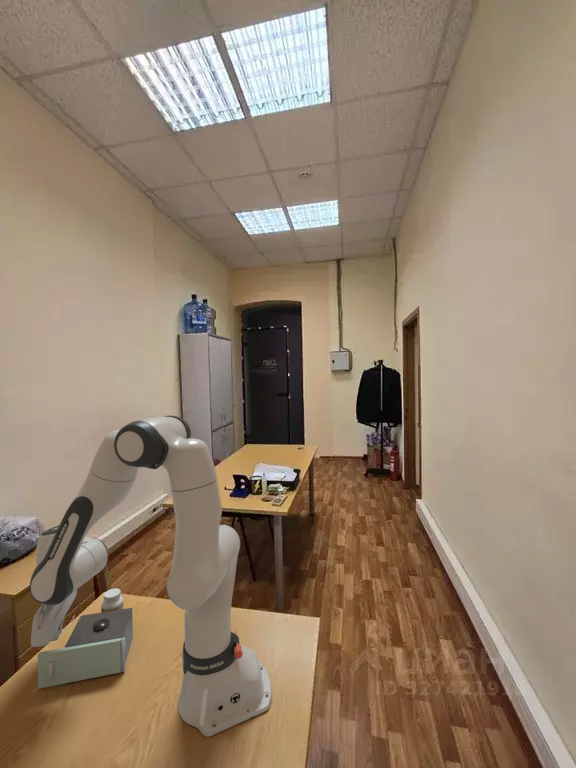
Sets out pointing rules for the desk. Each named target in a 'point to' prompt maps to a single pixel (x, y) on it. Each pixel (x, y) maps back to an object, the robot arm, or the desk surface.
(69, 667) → the side door
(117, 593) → the pill bottle
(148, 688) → the desk surface
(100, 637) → the cabinet box
